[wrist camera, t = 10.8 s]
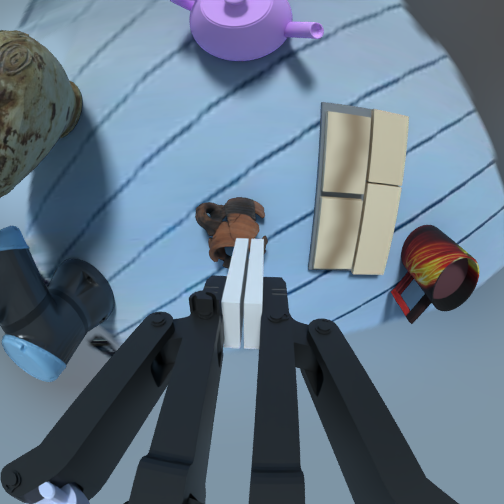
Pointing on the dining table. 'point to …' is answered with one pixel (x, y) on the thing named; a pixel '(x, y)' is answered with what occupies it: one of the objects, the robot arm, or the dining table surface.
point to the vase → (31, 106)
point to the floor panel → (371, 187)
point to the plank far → (336, 232)
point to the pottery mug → (229, 225)
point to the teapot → (244, 26)
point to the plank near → (345, 153)
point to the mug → (436, 271)
